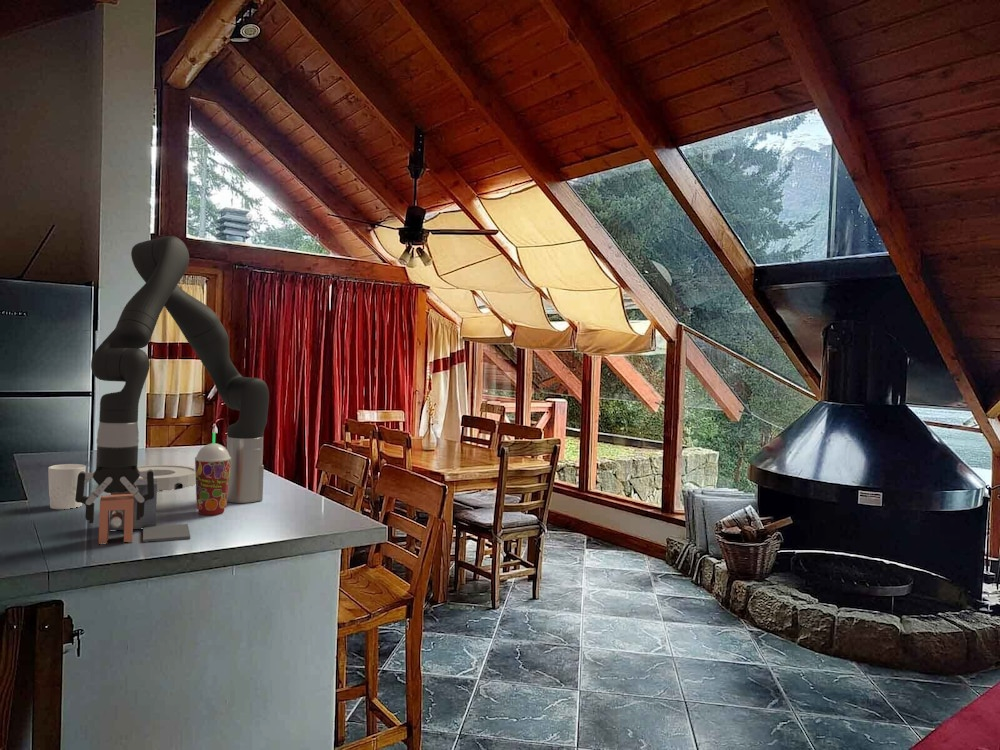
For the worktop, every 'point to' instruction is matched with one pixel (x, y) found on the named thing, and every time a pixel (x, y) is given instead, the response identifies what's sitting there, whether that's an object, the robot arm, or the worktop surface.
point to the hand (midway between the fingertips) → (114, 520)
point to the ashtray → (171, 475)
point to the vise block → (149, 509)
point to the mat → (166, 532)
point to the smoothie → (212, 478)
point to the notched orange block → (116, 503)
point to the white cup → (64, 485)
